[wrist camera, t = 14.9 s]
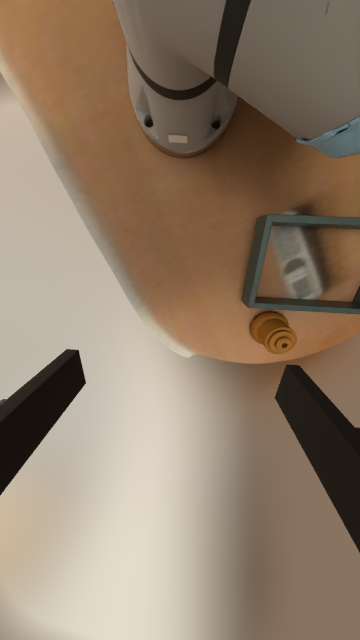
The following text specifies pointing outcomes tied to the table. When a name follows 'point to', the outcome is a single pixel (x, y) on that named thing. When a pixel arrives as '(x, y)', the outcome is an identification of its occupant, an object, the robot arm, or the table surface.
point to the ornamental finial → (273, 332)
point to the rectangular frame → (258, 257)
